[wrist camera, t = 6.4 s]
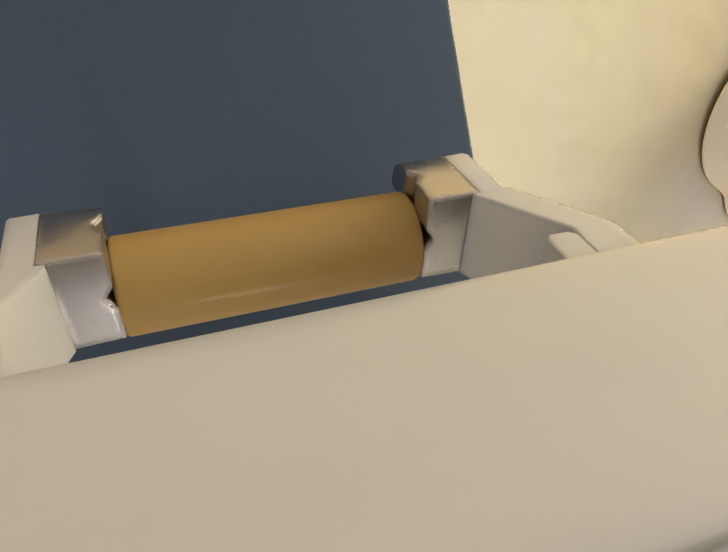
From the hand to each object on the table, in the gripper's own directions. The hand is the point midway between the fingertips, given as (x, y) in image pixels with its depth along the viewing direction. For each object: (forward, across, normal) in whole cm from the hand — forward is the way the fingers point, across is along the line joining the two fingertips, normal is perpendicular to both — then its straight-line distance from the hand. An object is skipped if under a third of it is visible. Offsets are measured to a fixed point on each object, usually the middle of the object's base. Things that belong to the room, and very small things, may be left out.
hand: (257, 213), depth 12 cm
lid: (+5, 0, -1) cm, 5 cm away
